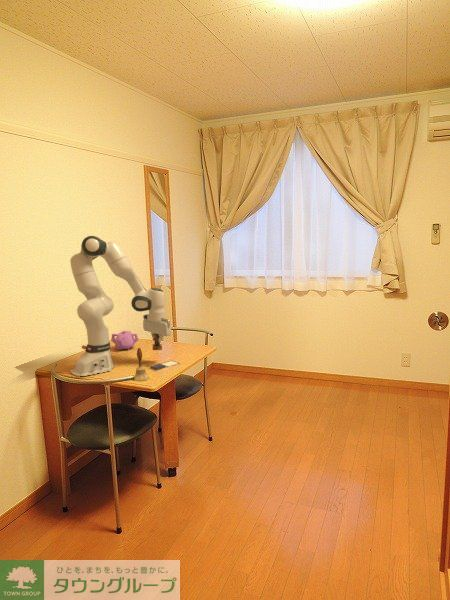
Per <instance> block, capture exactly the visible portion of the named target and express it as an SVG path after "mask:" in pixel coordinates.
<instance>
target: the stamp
mask: <svg viewBox="0 0 450 600" xmlns="http://www.w3.org/2000/svg"><path fill="white" fill-rule="evenodd" d="M159 337H160V336H159V334H156V333H154V340H153V341H154V344H152V351H162V349H163V346H162V343H161V342H158V339H159Z"/></svg>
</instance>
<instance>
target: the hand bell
mask: <svg viewBox="0 0 450 600" xmlns="http://www.w3.org/2000/svg"><path fill="white" fill-rule="evenodd" d="M136 357H137V361H138V367H137V368H136V369H135V370H136V371H135V375H134V376H133V377H134V380H133V381H134V382H144V381H147V380H149V379H150V375H148V373H147V371H146V368H145V366H143V362H142V361H143V352H142V349H141V347H138V348H137V350H136Z"/></svg>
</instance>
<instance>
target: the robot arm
mask: <svg viewBox="0 0 450 600" xmlns="http://www.w3.org/2000/svg"><path fill="white" fill-rule="evenodd" d="M80 247H81V248H80V252H78V253H76V254H73V255H72V256H71V258H70V259H69V260H70V261H69V262H70V268H71V272H72V276H73V278H74V282H75V283H76V284H75V285H76V286H77V290H78V291H79V292H80V293H81V294H82V295H84V297H85V298H86V300H84V301H83V302H81V303H80V304H79V305H78V307H77V310H76V313H77V315H78V318H79V319H80V320H81V321H83V324H84V326H85V330H86V335H87V337H86V338H87V344H86V345H84V344H82V345H81V349H82V350H85V351H84V352H83V353H82V355H80V356H79V358H77V359H76V360H75V363H74V365H75V366H74V368H73V369H70V373H71V374H72V375H73V376H74V377H80V376H86V377H88V376H87V375H91V376H93V375H92V374H95V375H98V374H97V373H100V374H103V372H105V373H108V372H107V371H109V372H111V371H112V369H114V367H115V366H114V365H115V364H114V362H113V359H112V354H111V342H110V337H109V336H110V334H109V333H110V332H109V328H108V326H106V324H105V321H104V318H103V317H105V316H107V315H109V314H110V313H111V312H112V311H113V310H114V307H115V306H114V305H115V303H114V301H113V299H112V298H111V297H109V296H108V295H107V294H106V292H105V291H104V290H103V288H102V287H101V284H100V282H99V280H98V277H97V274H96V271H95V268H94V265H93V261H94V260H95V259H97V258H99V257H100V258H103V259H104V261H106V264H107V265H108V267H109V269H110V270H111V272H112V273H113V274H114V276H115V277H118V278H121V279H122V280H125V282H127V284H128V285H129V287H130V288H131V290H132V292H133V293H134V296H133V298H132V299H131V302H130V304H131V307H132V309H134V311H136V312H141V313H142V312H147V311H148V313H146V314H143V316H142V319H143V321H142V326H143V327H142V328H143V330H144V332H149V333H150V335H151V337H152V341H154V333H156V334H159V336H160V337H159V339H158V342H160V343H161V342H163V337H170V336H171V335H172V327H171V326H172V325H171V321H170V320H169V319H167V318H166V310H165V306H166V300H165V299H166V297H165V292H164V290H162V289H161V288H157V287H151V288H149V289H146V288H145V287H144V285H143V283H142V282H141V280H140V278H139V277H138V276H137V274H136V271H135V269H134V268H133V267H132V263H131V262H130V260H129V258H128V256H127V255H126V253H125V251H124V250H123V248H122V247H121V246H120V245H119V243H117V242H116V241H107V242H106V241H104V240H103V239H101V238H99V237H98V236H96V235H88V236H86V237H84V239H82V242H81V245H80ZM80 378H81V377H80Z"/></svg>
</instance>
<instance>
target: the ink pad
mask: <svg viewBox="0 0 450 600" xmlns="http://www.w3.org/2000/svg"><path fill="white" fill-rule="evenodd" d="M165 368H167V367H166V366H165V365H162V364H161V363H156V364H153V365H150V366H149V369H151V370H153V371H159V370H162V369H165Z"/></svg>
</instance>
